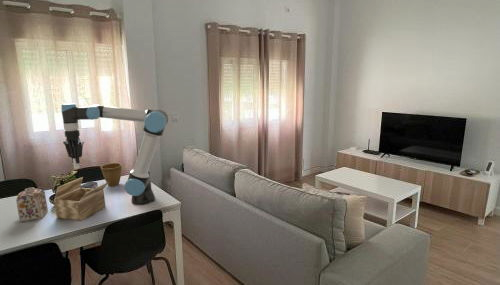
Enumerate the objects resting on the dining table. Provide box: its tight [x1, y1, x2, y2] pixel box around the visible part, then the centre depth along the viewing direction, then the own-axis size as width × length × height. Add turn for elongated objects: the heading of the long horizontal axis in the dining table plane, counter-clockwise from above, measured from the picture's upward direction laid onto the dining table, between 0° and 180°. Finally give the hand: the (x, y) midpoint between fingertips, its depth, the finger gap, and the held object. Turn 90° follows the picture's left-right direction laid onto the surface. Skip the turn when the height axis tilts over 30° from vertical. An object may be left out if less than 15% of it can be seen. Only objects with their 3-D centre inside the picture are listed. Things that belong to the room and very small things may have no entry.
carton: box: [53, 188, 107, 222], centre depth 189 cm, size 18×21×12 cm
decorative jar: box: [15, 186, 49, 222], centre depth 184 cm, size 12×12×18 cm
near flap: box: [80, 182, 109, 201], centre depth 184 cm, size 8×19×1 cm
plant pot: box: [100, 162, 123, 188], centre depth 237 cm, size 15×15×16 cm
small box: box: [80, 181, 99, 189], centre depth 212 cm, size 11×6×10 cm, turn 168°
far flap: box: [54, 176, 84, 199], centre depth 188 cm, size 8×19×1 cm
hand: (76, 168), depth 184 cm, fingers closed
